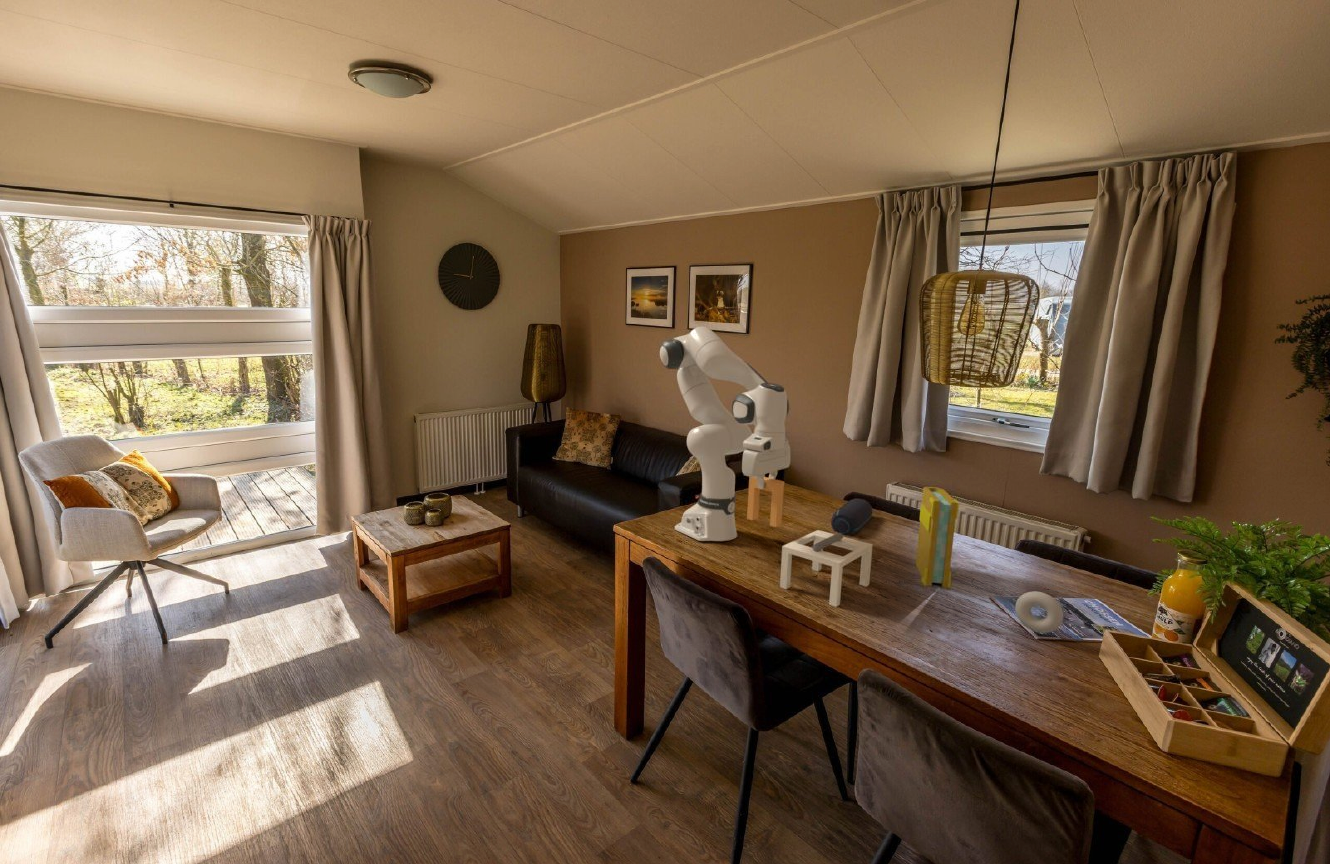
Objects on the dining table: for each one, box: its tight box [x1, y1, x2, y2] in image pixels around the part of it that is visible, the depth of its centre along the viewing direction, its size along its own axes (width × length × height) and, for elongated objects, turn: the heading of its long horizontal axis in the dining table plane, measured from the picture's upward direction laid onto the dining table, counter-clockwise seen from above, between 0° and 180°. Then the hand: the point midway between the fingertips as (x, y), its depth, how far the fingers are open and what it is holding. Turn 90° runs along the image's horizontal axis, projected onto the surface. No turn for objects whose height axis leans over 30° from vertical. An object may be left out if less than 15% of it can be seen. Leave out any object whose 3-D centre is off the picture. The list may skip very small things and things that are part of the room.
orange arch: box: [746, 476, 785, 528], centre depth 173 cm, size 10×3×13 cm, turn 47°
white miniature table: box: [779, 529, 874, 608], centre depth 166 cm, size 17×20×14 cm
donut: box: [1014, 590, 1064, 634], centre depth 143 cm, size 10×4×10 cm, turn 48°
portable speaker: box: [830, 498, 873, 537], centre depth 216 cm, size 25×10×10 cm, turn 147°
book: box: [915, 486, 960, 589], centre depth 175 cm, size 17×7×25 cm, turn 168°
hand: (765, 486), depth 173 cm, fingers closed on orange arch, 3 cm apart
